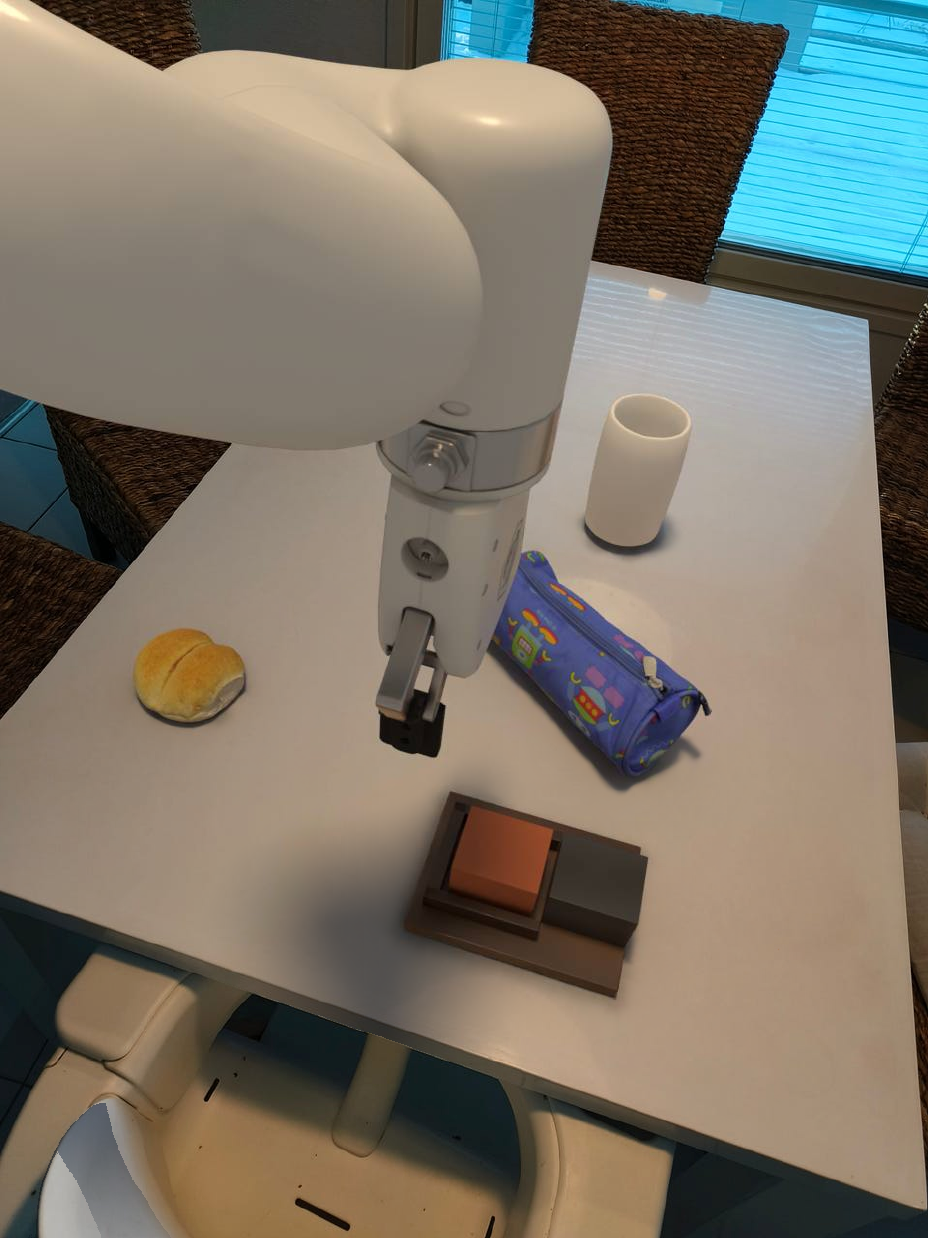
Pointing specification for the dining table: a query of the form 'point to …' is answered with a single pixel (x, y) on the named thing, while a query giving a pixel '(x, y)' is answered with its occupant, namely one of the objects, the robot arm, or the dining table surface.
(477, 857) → the orange block
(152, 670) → the bread roll
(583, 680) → the pencil case
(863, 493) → the dining table surface
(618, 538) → the cup
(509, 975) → the dining table surface
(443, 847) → the brown wooden tray
